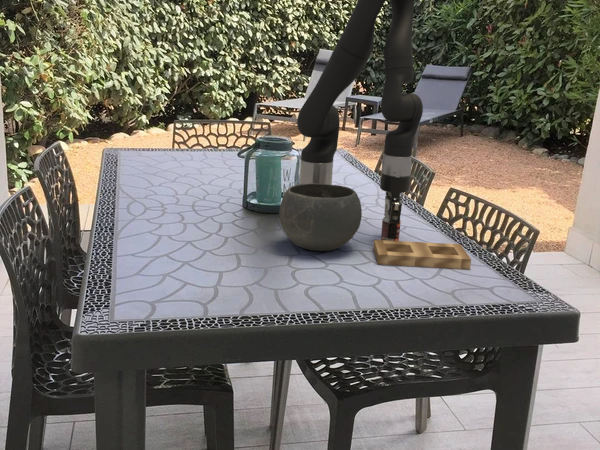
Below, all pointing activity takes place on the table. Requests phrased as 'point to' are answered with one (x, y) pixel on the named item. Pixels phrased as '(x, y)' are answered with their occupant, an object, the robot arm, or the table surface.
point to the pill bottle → (385, 228)
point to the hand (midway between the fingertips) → (390, 234)
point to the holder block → (421, 254)
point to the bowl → (320, 215)
